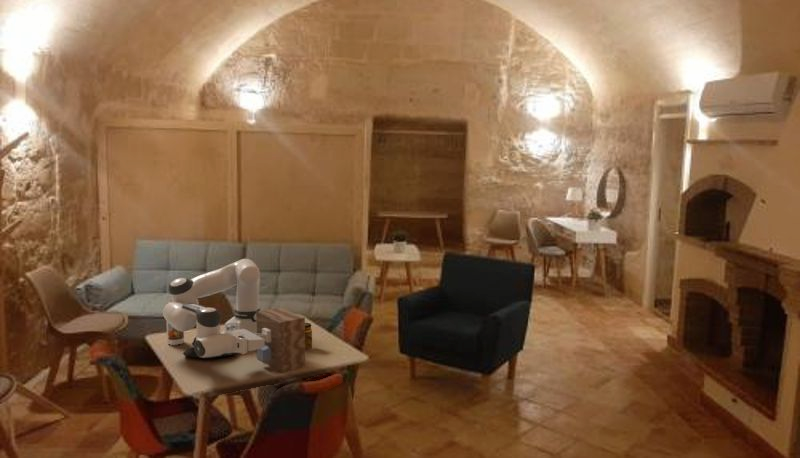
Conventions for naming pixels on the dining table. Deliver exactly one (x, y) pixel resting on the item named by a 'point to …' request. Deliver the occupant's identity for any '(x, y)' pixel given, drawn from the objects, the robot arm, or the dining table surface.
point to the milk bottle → (174, 335)
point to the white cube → (267, 334)
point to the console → (283, 338)
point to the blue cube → (265, 353)
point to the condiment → (308, 337)
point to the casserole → (192, 353)
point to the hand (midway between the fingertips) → (264, 335)
